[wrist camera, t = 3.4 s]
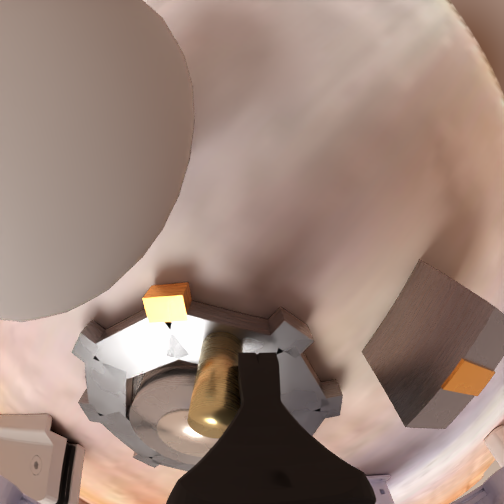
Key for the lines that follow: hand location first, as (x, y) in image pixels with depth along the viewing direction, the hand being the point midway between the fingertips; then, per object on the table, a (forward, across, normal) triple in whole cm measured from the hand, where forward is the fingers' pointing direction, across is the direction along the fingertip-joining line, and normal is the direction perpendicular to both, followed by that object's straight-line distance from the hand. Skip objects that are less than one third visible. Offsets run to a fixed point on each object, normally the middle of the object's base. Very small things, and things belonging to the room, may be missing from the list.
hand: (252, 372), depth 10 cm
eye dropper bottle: (+4, -36, +23) cm, 42 cm away
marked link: (+4, -9, 0) cm, 10 cm away
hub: (+3, +3, +6) cm, 7 cm away
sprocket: (+3, +3, +6) cm, 7 cm away
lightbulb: (+4, +4, -8) cm, 10 cm away
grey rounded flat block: (+3, +23, +18) cm, 29 cm away
